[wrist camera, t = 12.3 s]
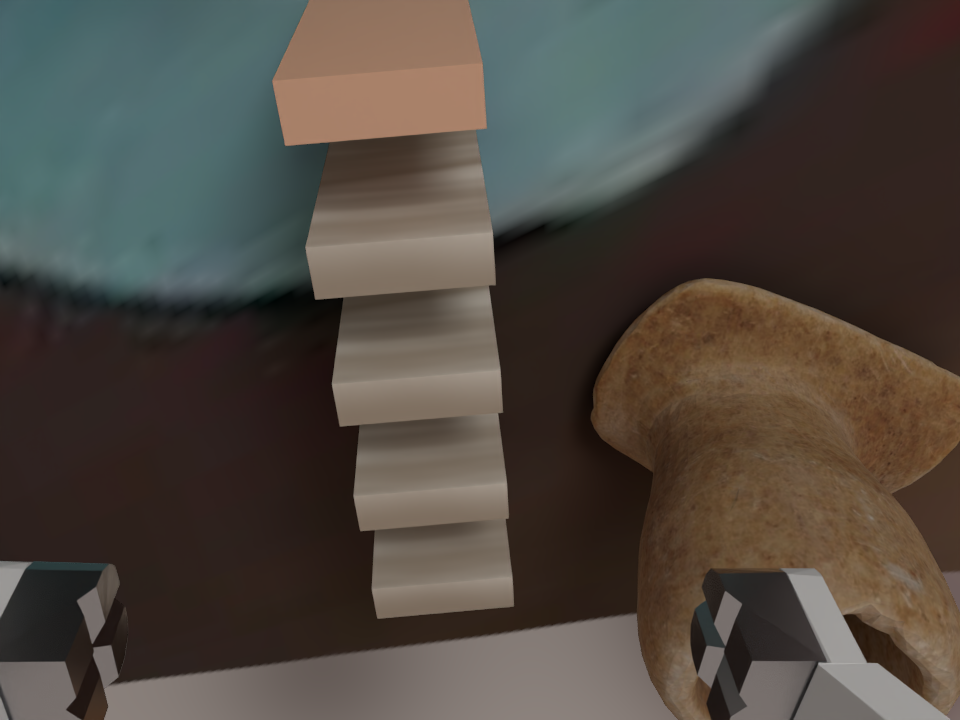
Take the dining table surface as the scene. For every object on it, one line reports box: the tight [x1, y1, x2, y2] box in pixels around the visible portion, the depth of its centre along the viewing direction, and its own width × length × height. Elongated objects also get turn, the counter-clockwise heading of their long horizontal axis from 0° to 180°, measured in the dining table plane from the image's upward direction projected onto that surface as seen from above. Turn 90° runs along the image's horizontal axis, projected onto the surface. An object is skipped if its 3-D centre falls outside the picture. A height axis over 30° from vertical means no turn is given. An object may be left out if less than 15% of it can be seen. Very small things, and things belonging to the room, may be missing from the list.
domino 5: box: [372, 519, 514, 619], centre depth 35 cm, size 2×5×9 cm, turn 94°
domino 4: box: [354, 413, 509, 531], centre depth 32 cm, size 2×5×9 cm, turn 93°
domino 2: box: [305, 130, 496, 300], centre depth 27 cm, size 2×5×9 cm, turn 93°
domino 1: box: [272, 0, 487, 146], centre depth 25 cm, size 2×5×9 cm, turn 94°
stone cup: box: [591, 278, 960, 720], centre depth 32 cm, size 15×12×15 cm
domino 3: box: [332, 285, 503, 426], centre depth 30 cm, size 2×5×9 cm, turn 93°
